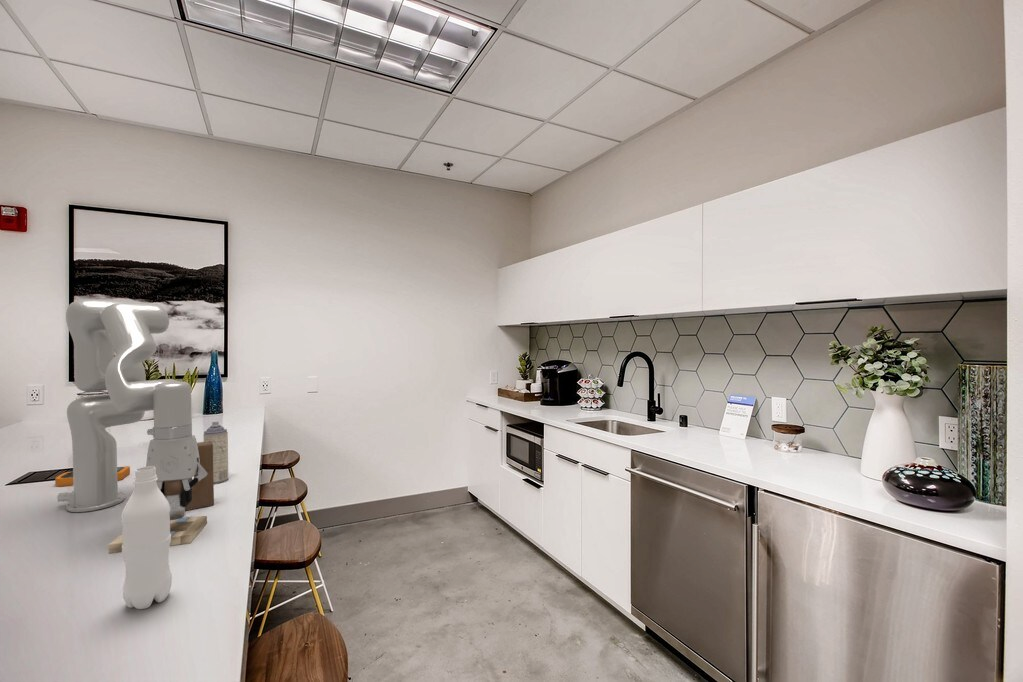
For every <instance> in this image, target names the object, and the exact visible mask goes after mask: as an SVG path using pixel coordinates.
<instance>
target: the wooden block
mask: <svg viewBox="0 0 1023 682" xmlns="http://www.w3.org/2000/svg"><path fill="white" fill-rule="evenodd" d="M197 446H198V451H199V459H200V465H201V466H202V467H203V468H204V469H205V471H206V472H207V473H208V475H207V476H206V477H204V478H203V479H201V480H200V481H198V482H197V483H196V484H195V485H194V486H193V487H192V501H191V502H190V503H189V504H188V505H187V506H186V507H185V512H186V511H190V510H192V511H193V510H197V509H201V508H206V507H212V506H214V505H215V488H214V487H215V486H214V485H215V484H214V476H213V444H212V442H211V441H207V442H204V441H201V442H200V441H199V442H197ZM197 476H198V473H196V474H195V475H194V476H193V479H194V478H195V477H197Z"/></svg>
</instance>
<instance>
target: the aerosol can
mask: <svg viewBox="0 0 1023 682" xmlns="http://www.w3.org/2000/svg"><path fill="white" fill-rule="evenodd" d="M228 433H229V432H228V429H227V428H225V427H224V426H222V425H220V424H219V421H216V420H215V421H212V422H211V425H210V426H209V427H207V429H206V430H205V431H203V442H207V441H211V442H212V444H213V476H214V485H216V484H222V483H226V482H228V481H229V445H228V444H229V443H228V442H229V440H228V439H229V434H228Z"/></svg>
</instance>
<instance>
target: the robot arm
mask: <svg viewBox="0 0 1023 682" xmlns="http://www.w3.org/2000/svg"><path fill="white" fill-rule="evenodd" d="M65 322H66V326H67V328H68V331H69V333H70V336H71V339H72V341H73V365H74V366H73V369H74V372H73V374H74V384H75V386H76V388H77V389H78V390H79V391H82V392H89V393H90V392H104V391H105V392H107V393H106V394H99V395H89V396H84V397H80V398H77V399H75V400H74V399H73V401H71V402H70V403H69V405H68V406H67V408H66V418H67V421H68V425H69V429H70V435H71V447H72V471H73V485H72V486H73V491H72V492H60V493H58V495H56V496H57V497H56V498H57V502H58V503H59V502H68V503H67V505H66V507H65V508H66V511H67V512H71V513H86V512H91V511H97V510H102V509H107V508H110V507H112V506H116V505H118V504H120V503H122V502H123V501H124V500H125V498H126V497H125V494H124V493H122V492H121V493H120V492H119V488H118V485H119V483H118V480H117V467H118V445H117V441H116V439H115V437H114V436H113V435H112V434H111V433H109V432H108V431H107V430H106V428H110V427H115V426H122V425H123V426H124V425H129V424H135V423H138V422H140V421H141V420H142V419H143V418H144V416H145V412H149V411H153V427H152V428H149V429H148V428H147V430H146V431H147V432H146V433H147V435H149V436H150V435H151V436H152V438H153V439H150V440H149V442H148V449H147V454H146V455H147V456H146V465H145V467H148V466H154V467H155V468H156V475H157V476H156V477H157V478H158V480H156V483H157V486H158V488H159V490H160V491H161V492H162V493H163V495H164V481H175V480H182V482H183V486H184V490H183V491H182V507H186V506H187V505H188V504H189V503H190V502H191V501H192V487H193V486H194V485H195V484H196V483H197V482H198V481H200V480H201V479H203V478H204V477H206V476H207V475H208V473H207V472H206V471H205V469H204V468H203V467H202V466H201V465H200V459H199V451H198V446H197V443H198V442H197V438H196V436H195V435H193V421H192V420H193V418H192V417H193V414H192V413H193V412H192V411H193V408H192V387H191V384H190V382H189V383H188V382H187V381H178V380H176V379H173V378H165V379H164V378H163V379H152V380H151V379H150V380H147V378H146V376H147V375H146V370H145V365H144V364H143V363H142V362H145V361H147V360H149V359H151V358H152V356H154V355H155V353H156V352H157V347H158V346H157V343H156V342H155V340H154V338H153V335H154V334H158V335H159V334H163V333H165V332H166V331H167V330H168V328H169V326H170V318H169V315H168V312H167V310H166V309H165V308H164V307H163V306H161V305H160V304H157V303H156V304H155V303H150V302H144V301H138V300H137V301H135V300H133V301H132V300H113V299H79V300H75V301H73V302H71V303H69V305H68V306H67V309H66V312H65ZM196 473H198V476H197V477H195V478H194V475H195V474H196ZM164 496H165V495H164Z"/></svg>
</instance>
